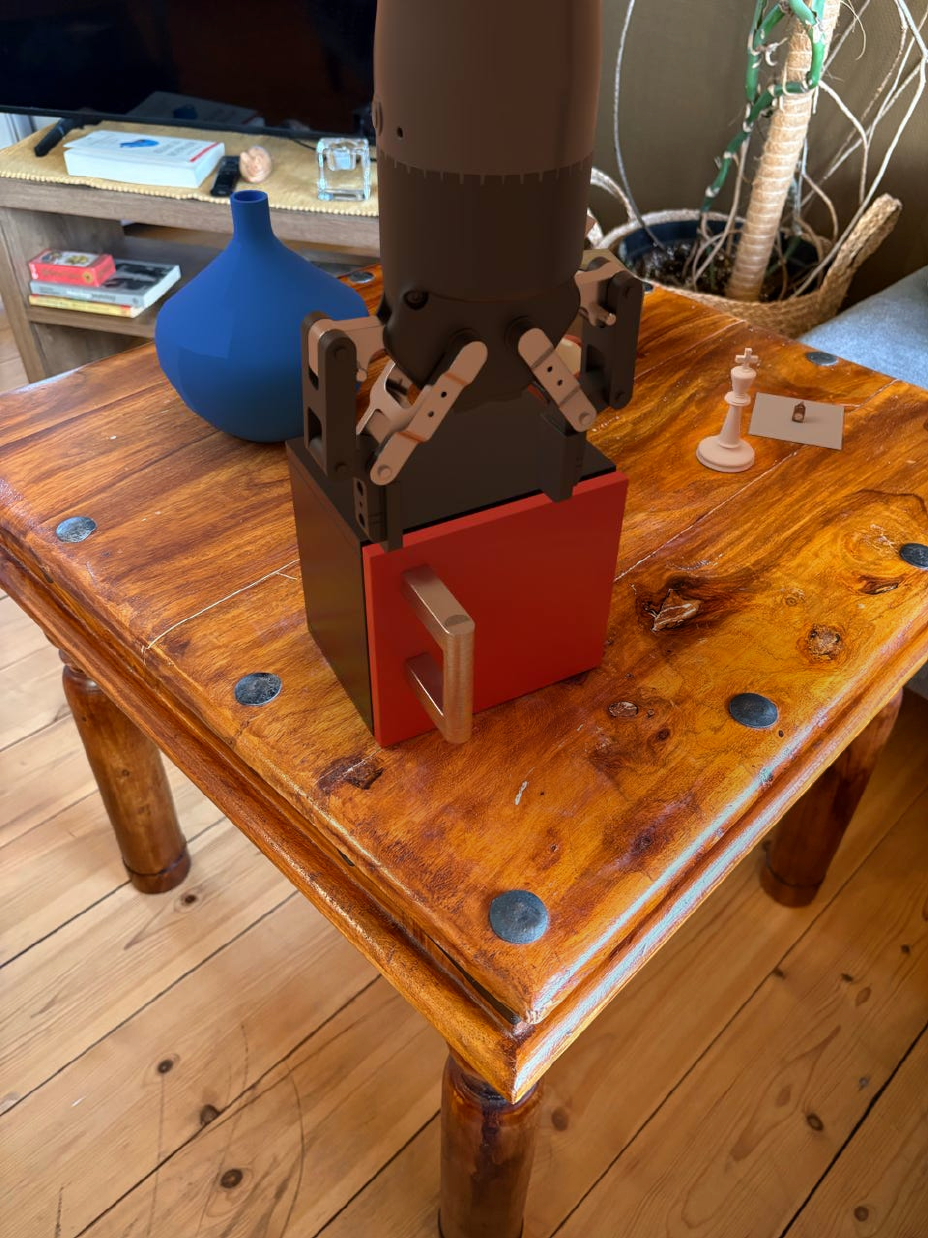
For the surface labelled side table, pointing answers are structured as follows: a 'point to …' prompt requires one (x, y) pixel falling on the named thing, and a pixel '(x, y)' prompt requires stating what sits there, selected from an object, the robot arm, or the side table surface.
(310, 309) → the vase
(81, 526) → the side table surface
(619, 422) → the side table surface
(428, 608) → the door
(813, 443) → the grey square plate
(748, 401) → the chess piece
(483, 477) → the dark brown cabinet
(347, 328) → the robot arm
